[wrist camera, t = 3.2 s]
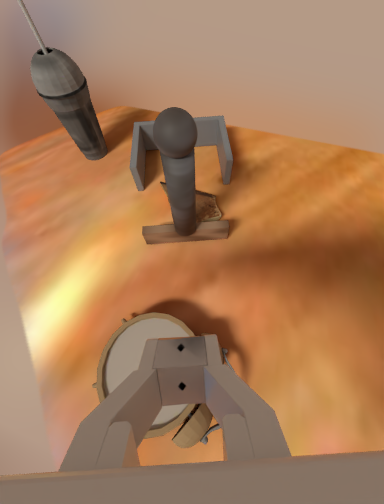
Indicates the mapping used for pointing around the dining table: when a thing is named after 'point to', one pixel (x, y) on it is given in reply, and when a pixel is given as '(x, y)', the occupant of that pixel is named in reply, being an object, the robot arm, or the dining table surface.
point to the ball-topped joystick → (180, 181)
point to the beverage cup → (66, 95)
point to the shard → (202, 206)
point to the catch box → (208, 134)
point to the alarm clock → (128, 359)
